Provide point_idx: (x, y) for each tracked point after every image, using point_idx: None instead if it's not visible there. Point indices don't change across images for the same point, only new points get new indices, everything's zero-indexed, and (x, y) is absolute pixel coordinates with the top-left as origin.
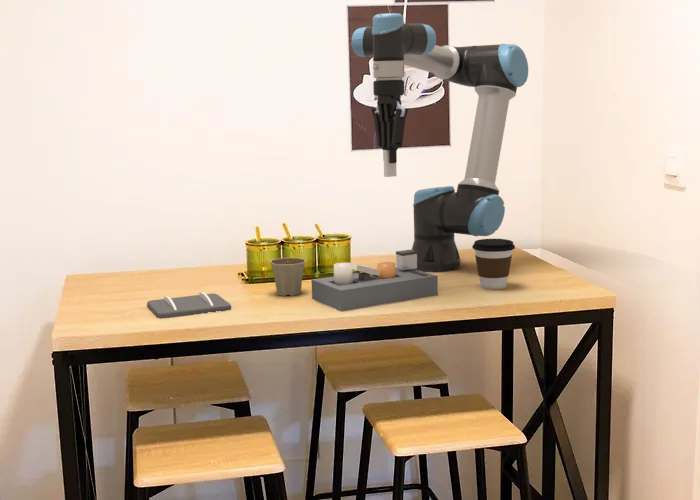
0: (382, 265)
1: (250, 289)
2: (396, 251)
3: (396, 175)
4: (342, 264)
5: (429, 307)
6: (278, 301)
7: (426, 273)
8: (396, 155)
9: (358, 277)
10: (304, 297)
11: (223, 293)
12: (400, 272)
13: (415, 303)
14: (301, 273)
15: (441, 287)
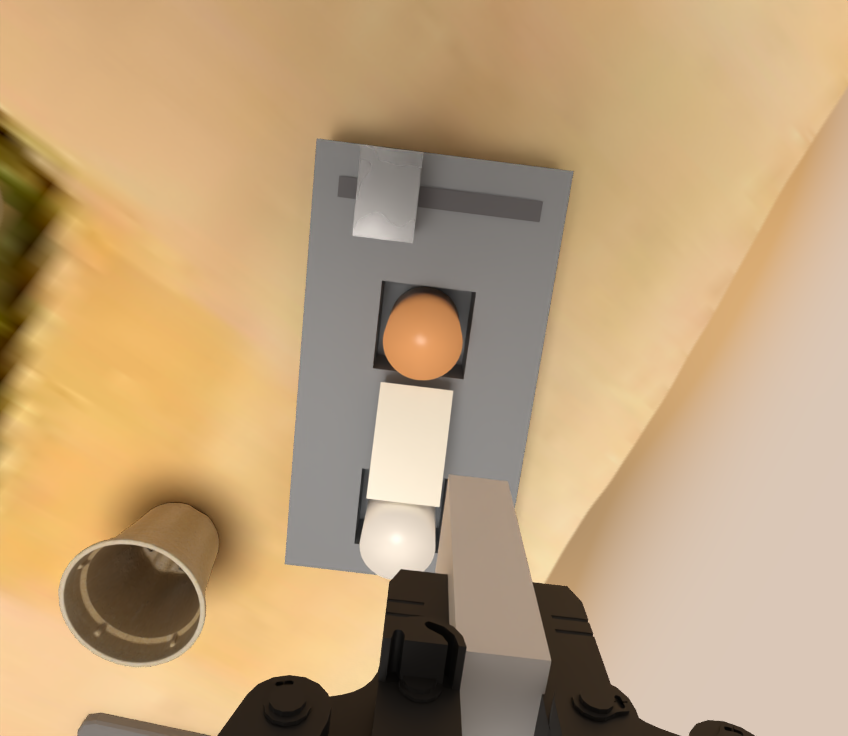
0: (435, 372)
1: (46, 592)
2: (355, 234)
3: (507, 483)
4: (398, 550)
5: (667, 322)
6: (257, 614)
7: (504, 174)
8: (595, 647)
9: (371, 426)
10: (262, 532)
11: (50, 674)
12: (410, 244)
13: (590, 320)
14: (195, 554)
15: (469, 62)
